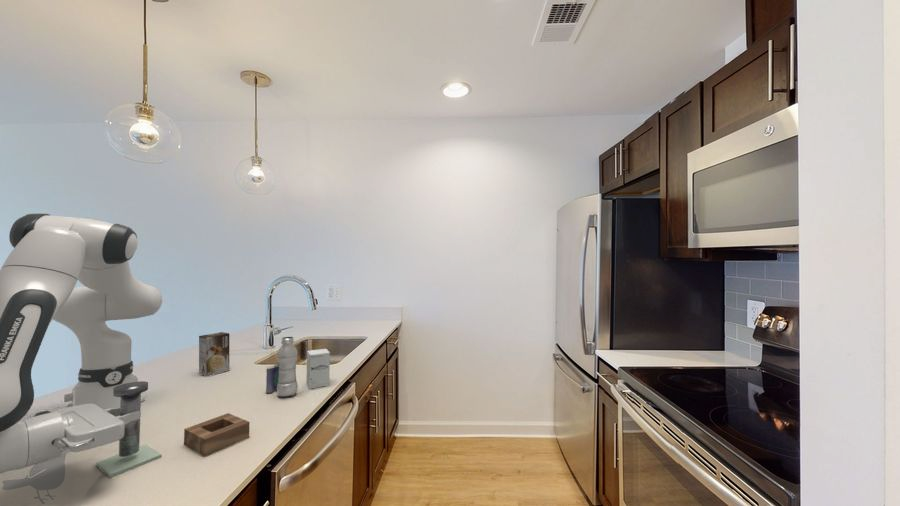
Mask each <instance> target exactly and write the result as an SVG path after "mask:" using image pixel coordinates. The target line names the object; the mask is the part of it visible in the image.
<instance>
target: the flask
mask: <svg viewBox="0 0 900 506" xmlns="http://www.w3.org/2000/svg"><path fill="white" fill-rule="evenodd" d="M275 362H276V363H275V364H273V365H272V366H268V367H266V379H265V381H266V386H265V387H266V389H265V392H266V393H265V394H273V393H277V384H278V377H279V366H278V359H276V360H275Z"/></svg>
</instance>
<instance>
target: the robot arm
mask: <svg viewBox="0 0 900 506" xmlns="http://www.w3.org/2000/svg"><path fill="white" fill-rule="evenodd" d="M8 239H9V243H10V245H11V246H12V247H13V249H12V250H11V252H10V253H9V255H8V256H7V258H6V259H5V260H4V263H3V264H2V266H1V268H0V474H4V473H6V472H9V471H10V472H11V471H16V470H22V469H25V468H28V467H31V466H34V465H38V464H40V463H43V462H46V461H49V460H52V459H53V460H54V459H56V458H60V457H61V456H62V455H63V452H64V451H65V450H69V451H70V452H73V453H79V452H84V451H88V450H91V449H95V448H98V447H102V446H106V445H108V444H112V443H115V442H119V440H120V439H121V438H123V437H124V425H126V424H127V423H129V422H131V421H134V420H137V419H139V418H140V419H141V417H142V416H141V414H142V413H141V410H140V411H138V410H134V411H131V412H128V414H125V415H123V416H120V398H121V397H115V396H113V388H115V387H117V386H119V385H122V384H126V383H131V382H139V377H138V376H137V375H134V374H133V372H134V362H133V360H132V344H133V343H132V338H131V336H130V335H128V334H127V333H125V332H122V331H120V330H119V331H118V330H116V329H112V328H110V327H108V326H107V323H106V322H108V321H119V320H120V321H121V320H133V319H134V320H135V319H140V318H145V317H149V316H153V315H155V314H156V313H157V312H158V311H159V310H160V308H161V307H162V303H163V295H162V293H161V292H160V291H159V289H158V288H156V287H155V286H154V285H150V284H147V283H145V282H143V281H141V280H140V279H138V278H137V277H136V275H134V274H133V273H132V271H131V267H130V264H129V261H130V260H131V259H132V258H133V256H134V254H135V252H136V251H137V249H138V235H137V233H136V232H135V231H134V230H133V229H132V228H131V227H129V226H126V225H123V224H120V223H111V222H109V221H108V222H107V221H104V220H98V219H97V220H96V219H91V218H86V217H75V216H63V215H51V214H49V213H27V214H25V215H23V216H20V218H17V219H16V220H15V221H14V223H12V225H11V228H10V231H9V237H8ZM77 282H79V283H80V284H81V285H82V286H76V284H77ZM52 321H55V322H57V323H59V324H62V325H63V326H65V327H66V328H68V329H69V330H71V332H72V333H73V334H74V335H75V336H76V338H77V340H78V342H79V345H80V353H81V354H80V356H81V367H80V369H79V370H78V374H77V376H78V377H77V380H78V382H77V383H76V384H75V386H74V387H73V389H72V390H71V393H66V394H64V395H63V398H64V399H63V401H64V403H66V404H63V405H62V406H61V407H60V408H58V409H55V410H53V411H51V410H49V409H45V410H41V411H37V412H35V413H33V414H32V415H31V417H30V418H25V419H23V418H24V417H25V416H26V414H27V413H29V410H31V407H32V406H33V404H34V400H35V390H34V384H33V379H32V368H33V366H34V362H35V361H36V358H37V356H38V353H39V351H40V348H41V345H42V343H43V340H44V338H45V335H46V333H47V330H48V328H49V326H50V325H51V324H50V323H52ZM145 400H146V399H145V396H143V395H141V403H142V402H144V401H145Z"/></svg>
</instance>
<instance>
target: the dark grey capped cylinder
mask: <svg viewBox="0 0 900 506" xmlns="http://www.w3.org/2000/svg"><path fill="white" fill-rule="evenodd" d="M148 390H149V382H148V381H146V380H145V381H144V380H143V381H138V382H131V383H126V384H122V385H119V386H117V387H115V388H113V396H115V397H121V398H120V416H123V415H125V414H128V412H131V411H134V410H138V411H140V412H141V404H142V402H141V396H142V393H145V392H146V391H148ZM140 432H141V417H140V418H139V419H137V420H134V421H131V422H129V423H127V424H126V425H124V437H123V438H121V439H120V440H118V454H119V456H120V457H125V456H130V455H133V454H135V453H137V452H138V451H139V447H140V444H141V443H140V437H141V433H140Z"/></svg>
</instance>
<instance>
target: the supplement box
mask: <svg viewBox="0 0 900 506" xmlns="http://www.w3.org/2000/svg"><path fill="white" fill-rule="evenodd" d="M330 357H331V352H330V351H329V350H328V349H327V348H319V349H312V350H306V385H308V386H307V388H308V389H309V390H312V389H317V387H318V388H322V386H324V387H330V365H331V364H330V362H331V361H330V359H331V358H330Z"/></svg>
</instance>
